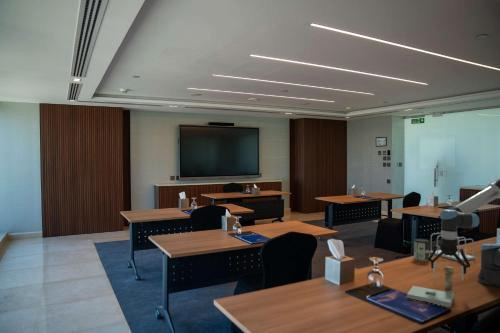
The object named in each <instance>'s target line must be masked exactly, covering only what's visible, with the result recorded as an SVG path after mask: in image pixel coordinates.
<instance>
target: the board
mask: <svg viewBox="0 0 500 333" xmlns="http://www.w3.org/2000/svg"><path fill="white" fill-rule="evenodd" d="M407 298H411V299H416V300H421V301H426V302H429V303H428V304H430V303H433V304H432V305H435V304H437V305H436V306H440V305H441V307H444V306H445V308H449V307H450V308H451V307H452V304H453V301H454V299H455V293H454V292H452V293H449V292H445V290H444V291H443V290H438V289H433V288H427V287H422V286H417V285H412V287H411V288H410V290H409V291H408V292H407V294H406V299H407ZM411 299H410V300H411ZM416 300H415V301H416ZM421 301H420V302H421Z"/></svg>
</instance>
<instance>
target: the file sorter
mask: <svg viewBox="0 0 500 333" xmlns="http://www.w3.org/2000/svg"><path fill="white" fill-rule="evenodd" d="M434 235H438V236H437V237H436V245H437V246H439V238H440V237H441V232H436V233H432V234H431V235H430V250H429V254H430V252H431V254H432V252H433V248H432V246H433V245H432V242H433V241H432V240H433V239H432V238H433V236H434ZM456 240H457V249H460V242H461V241H464V254H465V256H466V258H467V260H468V261H471V260H476V256H474V255H475V254H474V253H475V251H474V250H475V247H474V246H475V244H474V239H473V238H466V237H465V236H458V235H457V238H456ZM470 240H471V242H472V255H469V254H467V241H470ZM441 252H442V251H441V249H438V250H436V252H435V254H434V255H433V256H437V255H438V254H440V253H441ZM431 254H430V255H431ZM456 254H457V255H458V256H459V257H460V259H461V260H462V261H463V262H465V261H464V259H463V257H462V255H461V253H459V251H457V252H456ZM440 257H442V258H445V259H449V260H453V261H456V262H459V261H458V260H457V259H456V258H455V257H454V256H449V255H444V254H443V255H441V256H440Z"/></svg>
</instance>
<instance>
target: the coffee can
mask: <svg viewBox="0 0 500 333" xmlns="http://www.w3.org/2000/svg"><path fill="white" fill-rule="evenodd" d="M429 252H430V239H425V238H414V239H413V259H414V260H415V261H419V262H420V261H421V262H429V261H428V258H429V257H430V253H429Z"/></svg>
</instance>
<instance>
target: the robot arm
mask: <svg viewBox="0 0 500 333" xmlns="http://www.w3.org/2000/svg"><path fill="white" fill-rule="evenodd" d="M496 199H500V178H499V179H496V180H494V181H492V182H491V183H489V184H488V185H487V187H486V188H484V189H482V190H480V191H479V192H478V193H476V194H474V195H471V196H470V197H468V198H467V199H465V200H463V201H462V202H460V203H459V204H457V205H455V206H453V207H451V208H450V209H449V208H447V209H442V210H441V211H440V213H439V218H440V219H441V222H440V223H441V230H440V233H441V234H440V235H441V236H440V237H441V238H440V246H439V245H438V246H437V244H435V245H434V246H433V249H432V251H433V252H432V254H429V258H428V261H427V262H430V264H431V266H430V267H431V269H432V270H433V271H432V275H433V276H436V268H437V266H436V263H437V262H436V261H437V260H438V259H439V258H440V257H441V255H443V254H444V255H449V256H454V257H455V258H456V259H457V260H458V261H457V262H459V264H460V265H461V266H462V267H461V280H462V281H464V279H465V278H464V275H466V274H467V269H468V268H470V267H471V264H470V262H469V260H467V258H466V256H465V249H464V248H459V249H458V239H456V238H458V237H457V236H458V228H476V227H478V226H479V225H480V217H479V216H478V214H476V213H473V212H475V211H477V210H478V209H480V208H482V207H484V206H485V205H487V204H489V203H491V202H492V201H494V200H496ZM436 250H441V251H442V252H441V253H440V254H438V255H434V254H435V252H436ZM458 251H459V253H461V255H462V257H463V259H464V261H462V260H461V259H460V257H459V256H458V255H457V254H456V252H458ZM434 256H435V257H434ZM433 257H434V258H433ZM476 279H477V282H479V283H481V284H482V285H483V284H484V285H486V286H491V287H500V243H483V244H481V247H480V270H479V272H478V275H477V278H476Z"/></svg>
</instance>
